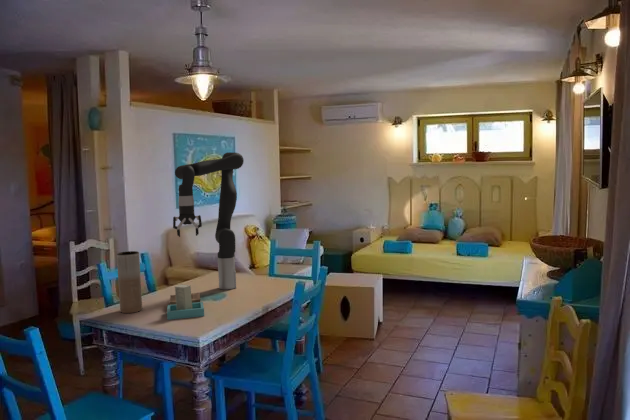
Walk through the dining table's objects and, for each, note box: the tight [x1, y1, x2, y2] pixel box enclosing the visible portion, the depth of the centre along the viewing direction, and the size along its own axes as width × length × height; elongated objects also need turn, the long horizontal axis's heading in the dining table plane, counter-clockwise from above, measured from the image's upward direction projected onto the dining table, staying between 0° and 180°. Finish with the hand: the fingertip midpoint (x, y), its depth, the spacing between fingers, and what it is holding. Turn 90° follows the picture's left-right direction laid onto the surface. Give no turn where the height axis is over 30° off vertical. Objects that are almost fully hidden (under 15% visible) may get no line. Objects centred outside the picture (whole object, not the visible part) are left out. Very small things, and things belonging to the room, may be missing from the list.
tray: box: [166, 301, 205, 320], centre depth 234 cm, size 16×12×4 cm
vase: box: [116, 250, 143, 314], centre depth 242 cm, size 10×10×28 cm
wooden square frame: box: [169, 292, 201, 305], centre depth 249 cm, size 14×14×4 cm
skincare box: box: [174, 284, 192, 310], centre depth 234 cm, size 6×4×12 cm
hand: (188, 236), depth 262 cm, fingers open, 8 cm apart
